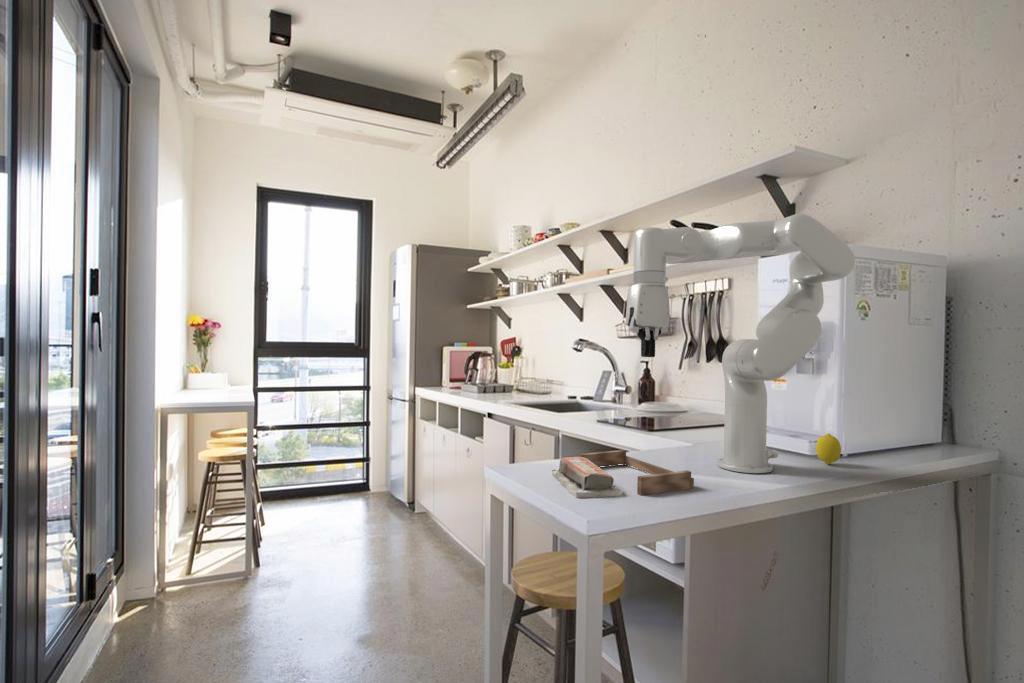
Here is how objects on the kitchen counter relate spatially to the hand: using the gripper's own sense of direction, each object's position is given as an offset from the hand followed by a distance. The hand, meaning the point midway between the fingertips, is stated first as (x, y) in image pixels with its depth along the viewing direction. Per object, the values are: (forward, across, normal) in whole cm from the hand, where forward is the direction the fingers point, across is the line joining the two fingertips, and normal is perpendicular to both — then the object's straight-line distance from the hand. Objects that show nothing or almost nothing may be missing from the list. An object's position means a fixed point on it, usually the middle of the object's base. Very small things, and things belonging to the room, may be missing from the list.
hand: (647, 356), depth 128 cm
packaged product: (+28, +21, +6) cm, 35 cm away
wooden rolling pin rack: (+27, +8, +5) cm, 29 cm away
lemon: (+27, -47, +14) cm, 56 cm away
